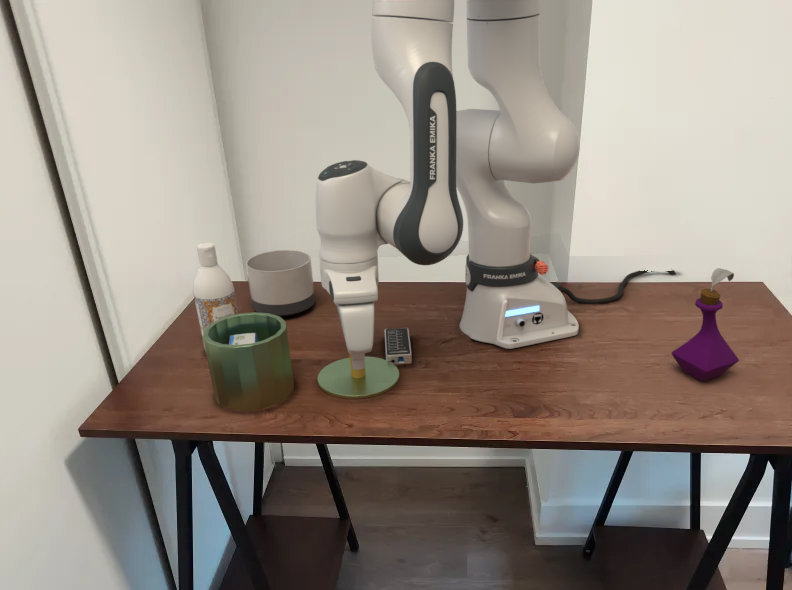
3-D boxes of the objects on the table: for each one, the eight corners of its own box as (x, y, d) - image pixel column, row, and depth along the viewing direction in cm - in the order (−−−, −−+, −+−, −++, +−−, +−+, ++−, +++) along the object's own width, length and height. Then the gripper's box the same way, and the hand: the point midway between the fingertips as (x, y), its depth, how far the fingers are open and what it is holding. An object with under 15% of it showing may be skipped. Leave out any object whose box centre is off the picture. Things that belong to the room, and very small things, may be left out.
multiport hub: (408, 338, 128) (408, 327, 127) (412, 366, 119) (411, 354, 117) (385, 339, 128) (384, 328, 127) (386, 367, 118) (385, 355, 117)
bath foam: (212, 362, 122) (191, 254, 112) (200, 348, 127) (178, 244, 117) (249, 352, 125) (232, 246, 115) (236, 338, 130) (218, 236, 120)
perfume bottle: (702, 389, 109) (724, 283, 100) (667, 370, 115) (685, 267, 106) (735, 377, 112) (760, 273, 103) (699, 359, 118) (719, 259, 109)
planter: (284, 292, 150) (278, 246, 145) (328, 304, 143) (323, 256, 138) (240, 312, 141) (232, 264, 136) (284, 326, 134) (277, 276, 129)
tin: (293, 370, 118) (285, 309, 113) (295, 407, 108) (286, 342, 102) (219, 378, 117) (207, 316, 111) (213, 417, 106) (199, 350, 100)
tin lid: (393, 358, 121) (391, 329, 118) (405, 397, 110) (404, 365, 107) (316, 366, 119) (312, 337, 116) (320, 406, 108) (316, 375, 105)
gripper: (323, 254, 113) (329, 330, 119) (334, 298, 95) (341, 385, 102) (361, 251, 114) (365, 327, 121) (379, 294, 96) (383, 381, 103)
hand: (354, 354), depth 111 cm, fingers open, 8 cm apart
